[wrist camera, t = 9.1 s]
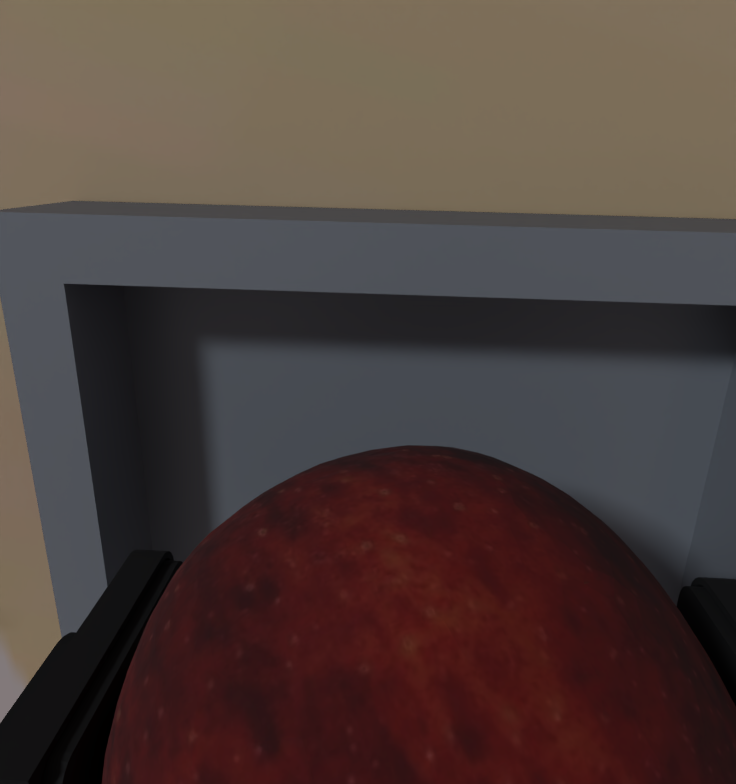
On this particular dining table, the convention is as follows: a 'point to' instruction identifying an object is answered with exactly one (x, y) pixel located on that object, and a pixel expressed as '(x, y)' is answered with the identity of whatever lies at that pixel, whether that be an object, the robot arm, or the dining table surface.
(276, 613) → the apple
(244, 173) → the dining table surface
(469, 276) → the tray
